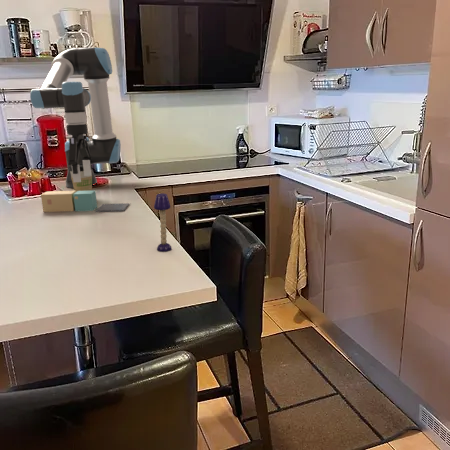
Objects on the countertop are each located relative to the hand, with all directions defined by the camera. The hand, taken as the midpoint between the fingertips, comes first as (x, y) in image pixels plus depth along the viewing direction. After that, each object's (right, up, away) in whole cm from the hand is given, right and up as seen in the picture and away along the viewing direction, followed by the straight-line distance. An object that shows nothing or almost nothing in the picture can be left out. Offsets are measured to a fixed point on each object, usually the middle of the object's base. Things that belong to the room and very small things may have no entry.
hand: (82, 179), depth 183 cm
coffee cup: (-6, -7, +21) cm, 23 cm away
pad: (+11, -11, +4) cm, 16 cm away
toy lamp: (+38, -26, -47) cm, 66 cm away
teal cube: (0, -12, +4) cm, 12 cm away
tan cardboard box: (-10, -12, +4) cm, 16 cm away
